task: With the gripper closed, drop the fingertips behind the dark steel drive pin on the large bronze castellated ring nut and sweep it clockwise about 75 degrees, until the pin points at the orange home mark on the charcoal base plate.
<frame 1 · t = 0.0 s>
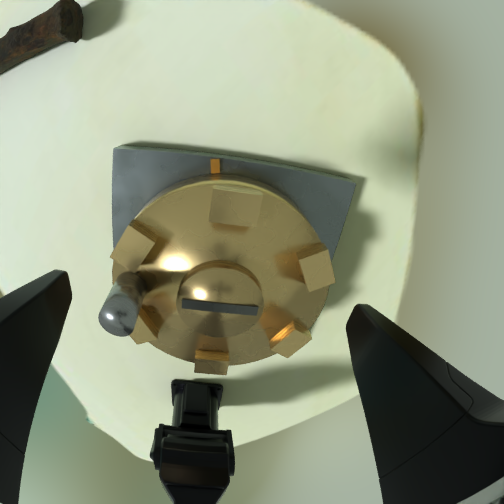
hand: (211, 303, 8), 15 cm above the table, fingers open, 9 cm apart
base plate: (220, 261, 24), on the table
ring nut: (220, 300, 20), point 5 cm above the table, hinge at 0.0°
rough bark branch: (6, 66, 13), on the table
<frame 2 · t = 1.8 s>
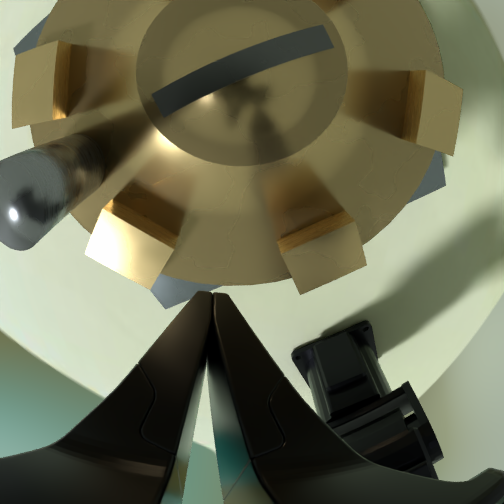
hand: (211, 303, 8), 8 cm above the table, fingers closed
base plate: (236, 81, 12), on the table
ring nut: (242, 67, 7), point 5 cm above the table, hinge at 0.0°
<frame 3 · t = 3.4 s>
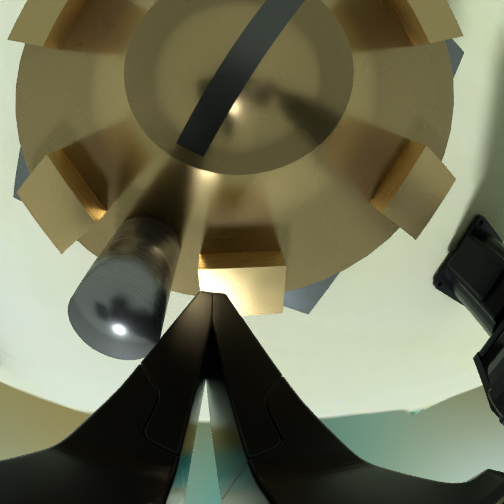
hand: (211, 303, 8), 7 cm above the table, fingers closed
base plate: (234, 82, 11), on the table
ring nut: (239, 67, 6), point 5 cm above the table, hinge at -3.0°, touching gripper
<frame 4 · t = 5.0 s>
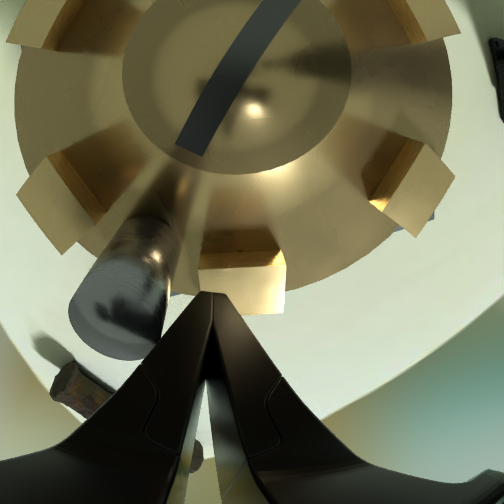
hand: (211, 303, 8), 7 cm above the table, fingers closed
ring nut: (237, 66, 6), point 5 cm above the table, hinge at -45.2°, touching gripper
rough bark branch: (144, 409, 24), on the table
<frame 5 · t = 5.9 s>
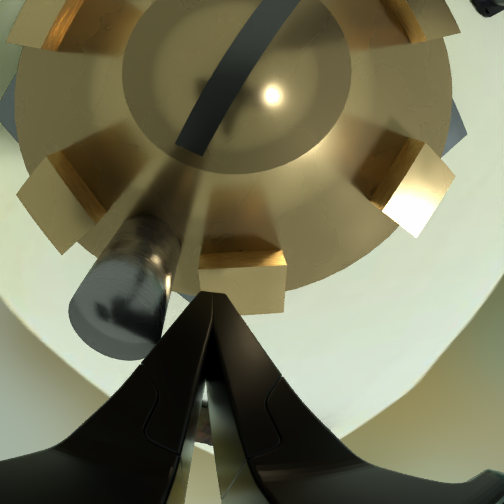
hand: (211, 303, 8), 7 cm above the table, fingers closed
base plate: (232, 82, 11), on the table
ring nut: (237, 66, 6), point 5 cm above the table, hinge at -70.1°, touching gripper
rough bark branch: (265, 416, 25), on the table
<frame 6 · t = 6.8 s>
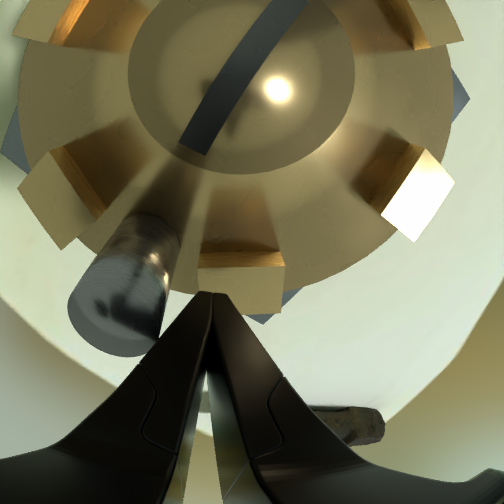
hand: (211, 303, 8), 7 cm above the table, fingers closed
base plate: (235, 83, 11), on the table
ring nut: (242, 67, 7), point 5 cm above the table, hinge at -81.6°, touching gripper
rough bark branch: (314, 406, 25), on the table
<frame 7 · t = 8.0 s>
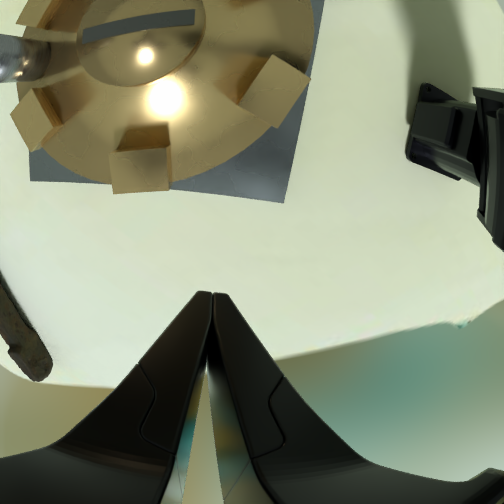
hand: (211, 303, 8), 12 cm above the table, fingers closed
base plate: (163, 48, 13), on the table
ring nut: (139, 28, 9), point 5 cm above the table, hinge at -81.7°
rough bark branch: (14, 300, 22), on the table
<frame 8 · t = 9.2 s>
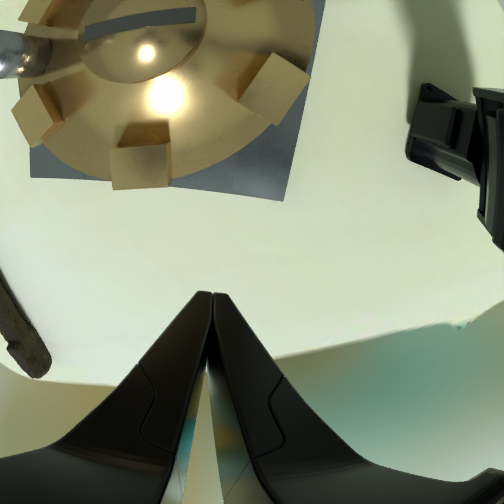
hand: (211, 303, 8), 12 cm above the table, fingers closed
base plate: (164, 45, 13), on the table
ring nut: (141, 25, 9), point 5 cm above the table, hinge at -81.7°
rough bark branch: (13, 296, 22), on the table
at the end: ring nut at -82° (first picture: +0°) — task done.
